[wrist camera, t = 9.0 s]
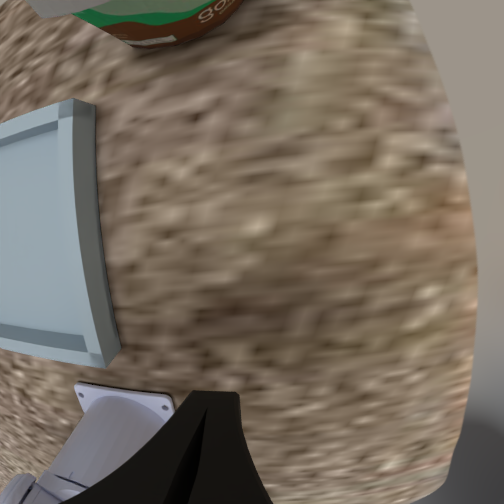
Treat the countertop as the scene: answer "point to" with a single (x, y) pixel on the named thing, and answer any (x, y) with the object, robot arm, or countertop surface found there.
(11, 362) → the countertop surface
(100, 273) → the open box
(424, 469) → the countertop surface
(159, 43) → the food container
